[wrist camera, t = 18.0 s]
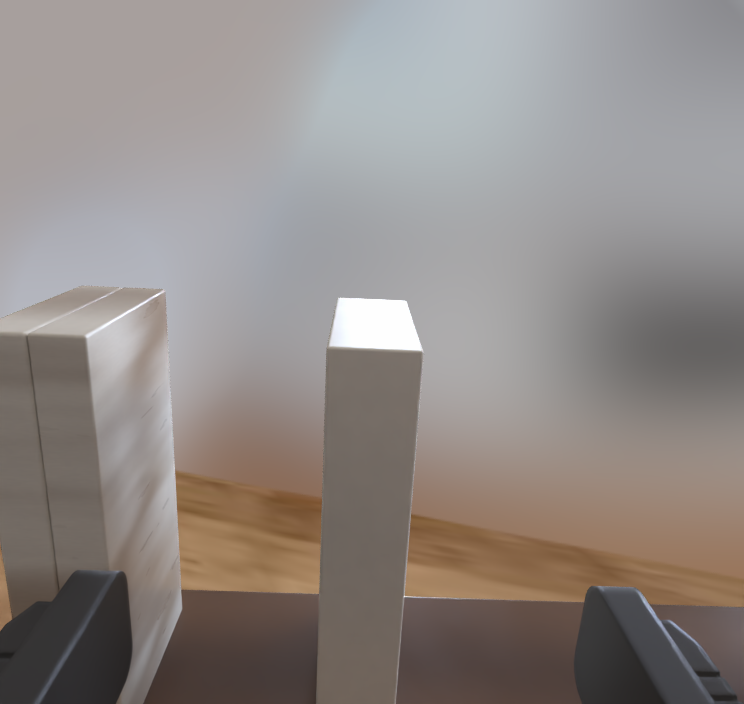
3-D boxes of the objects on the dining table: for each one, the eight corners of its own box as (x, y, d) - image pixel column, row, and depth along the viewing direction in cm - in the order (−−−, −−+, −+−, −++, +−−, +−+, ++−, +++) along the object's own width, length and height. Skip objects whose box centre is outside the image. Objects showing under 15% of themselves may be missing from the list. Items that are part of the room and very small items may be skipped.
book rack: (1062, 836, 15) (1304, 404, 11) (-4, 816, 14) (-94, 343, 11) (846, 632, 22) (957, 319, 18) (113, 610, 21) (82, 278, 17)
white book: (391, 756, 15) (424, 351, 12) (314, 754, 15) (326, 347, 12) (384, 616, 20) (406, 300, 17) (326, 614, 20) (336, 297, 17)
